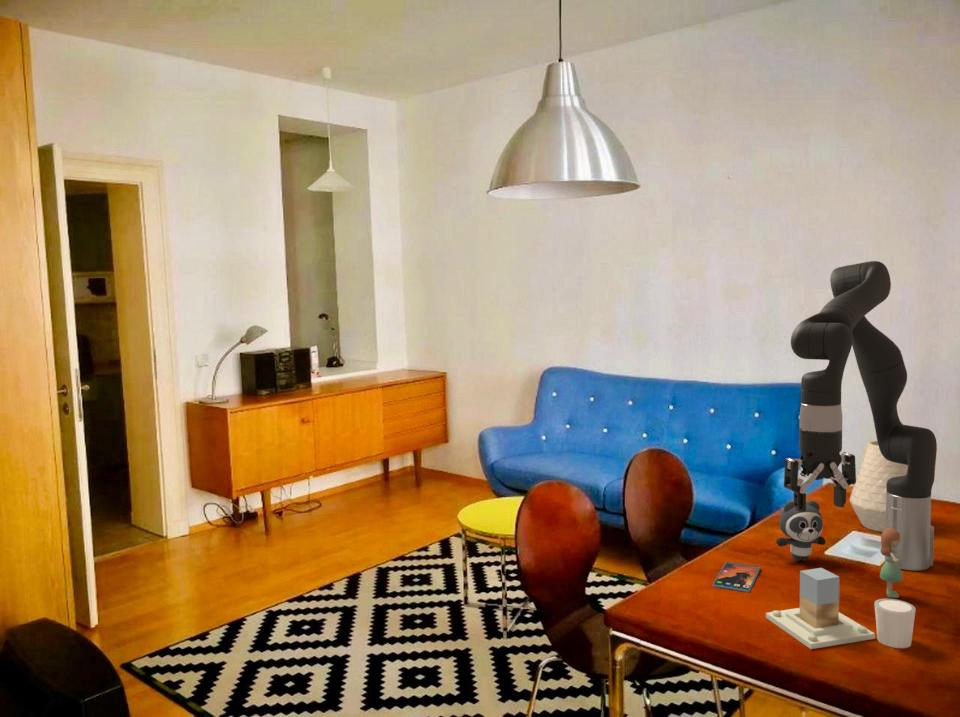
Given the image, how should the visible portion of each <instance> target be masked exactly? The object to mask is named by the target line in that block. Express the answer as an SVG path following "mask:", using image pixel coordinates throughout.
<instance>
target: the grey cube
mask: <svg viewBox="0 0 960 717" xmlns="http://www.w3.org/2000/svg"><path fill="white" fill-rule="evenodd" d="M800 596H802V597H804V598H805V599H807V600H809V601H811V602H812V603H814V604H816V605H822V604H828V603H834V602H839V603H840V576H839V575H837V574H835V573H833V572H831V571H829V570H827V569H825V568H823V567H818V568H810V569H804V570H799V597H800Z"/></svg>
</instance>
